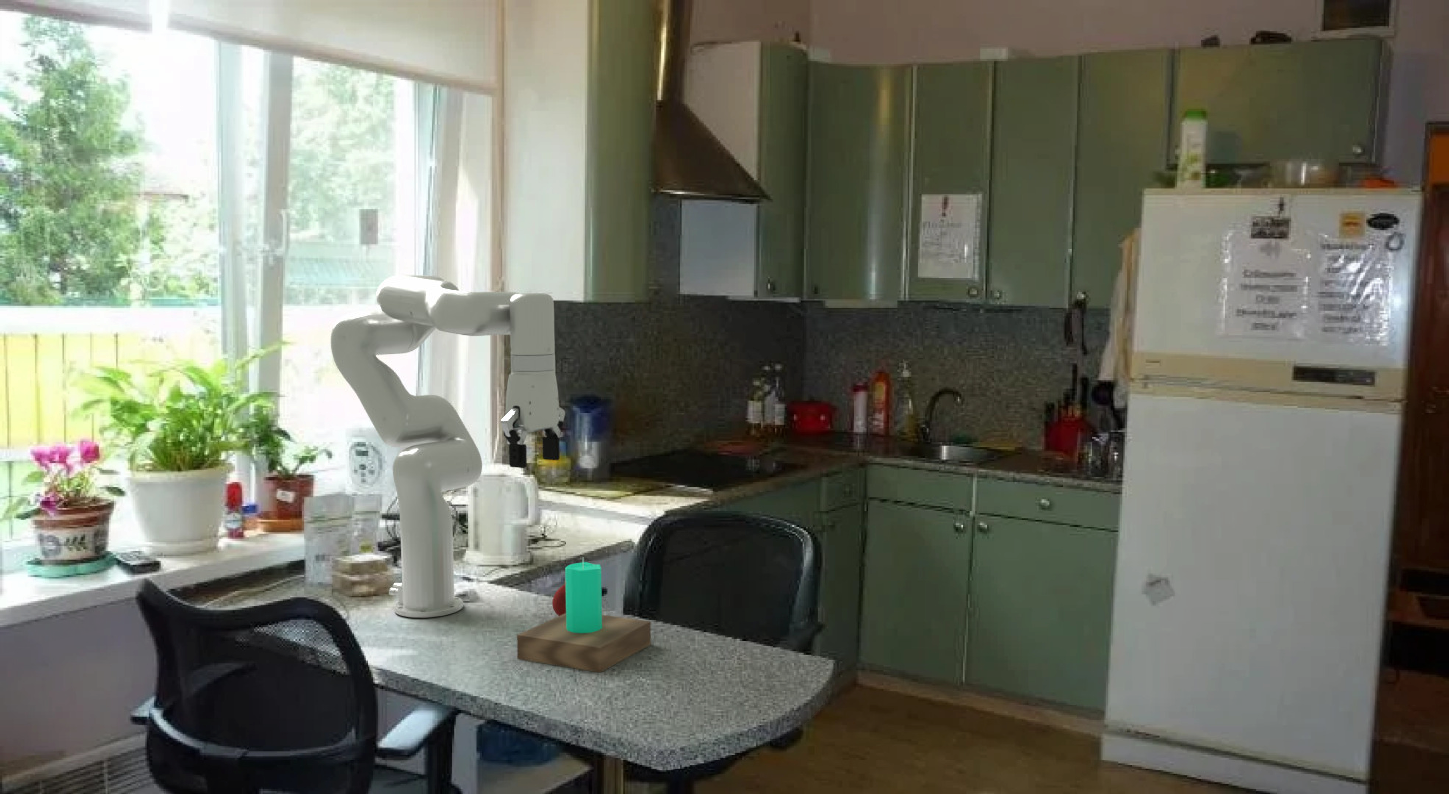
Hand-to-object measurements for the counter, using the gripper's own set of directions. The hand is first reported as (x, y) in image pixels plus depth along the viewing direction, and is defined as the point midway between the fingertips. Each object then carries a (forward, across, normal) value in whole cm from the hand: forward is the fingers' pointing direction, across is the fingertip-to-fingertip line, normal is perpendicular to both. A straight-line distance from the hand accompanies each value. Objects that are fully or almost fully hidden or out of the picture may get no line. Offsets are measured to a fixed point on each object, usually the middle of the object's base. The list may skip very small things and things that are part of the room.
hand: (535, 463), depth 201 cm
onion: (+31, -8, +1) cm, 32 cm away
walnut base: (+30, +5, +13) cm, 33 cm away
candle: (+26, +5, +13) cm, 30 cm away
